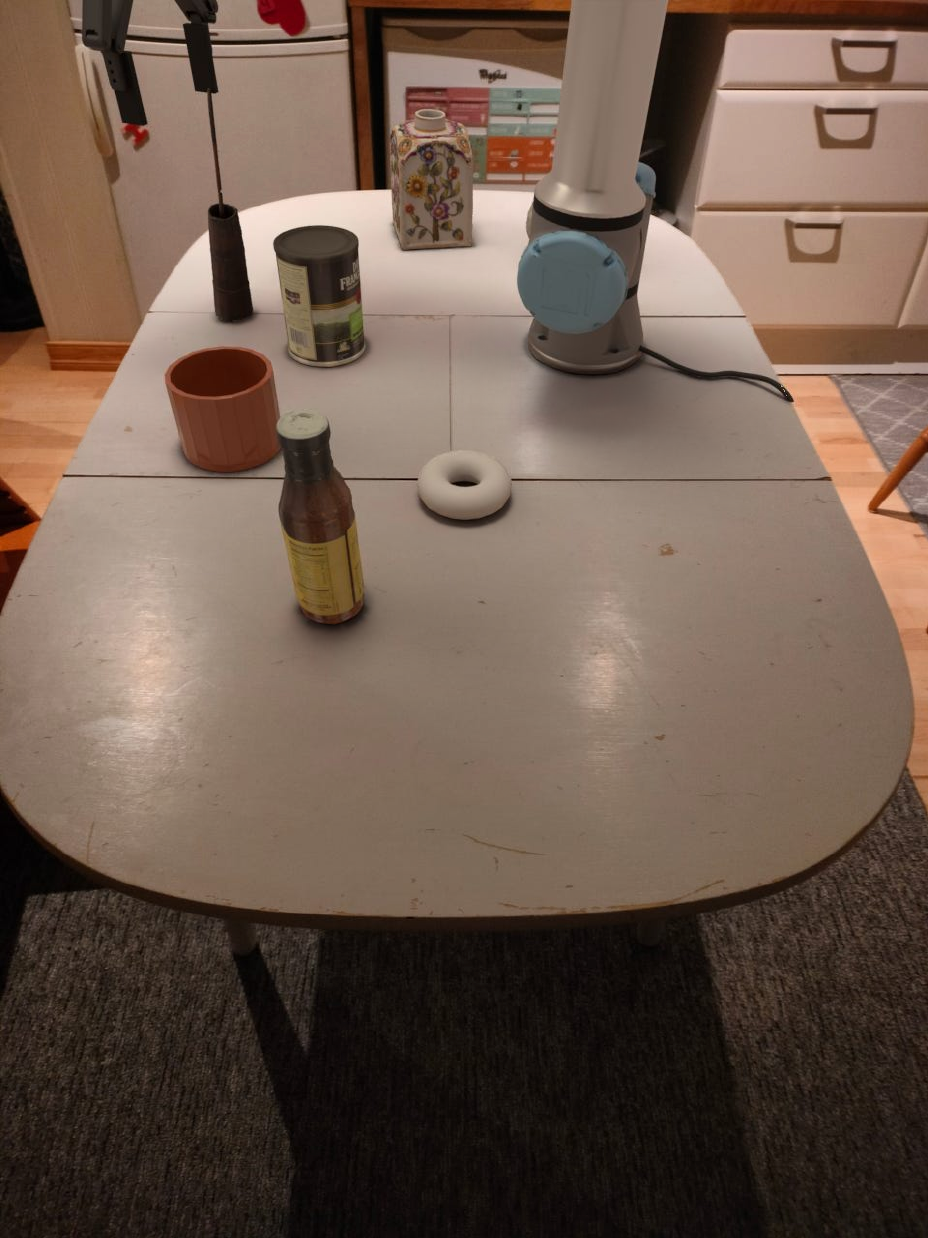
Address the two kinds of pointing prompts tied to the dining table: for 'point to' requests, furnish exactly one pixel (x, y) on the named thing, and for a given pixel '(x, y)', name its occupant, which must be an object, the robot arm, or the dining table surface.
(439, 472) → the donut
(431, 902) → the dining table surface
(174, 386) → the crock
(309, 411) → the sauce bottle
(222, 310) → the butter churn
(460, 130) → the decorative jar
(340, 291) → the coffee can
